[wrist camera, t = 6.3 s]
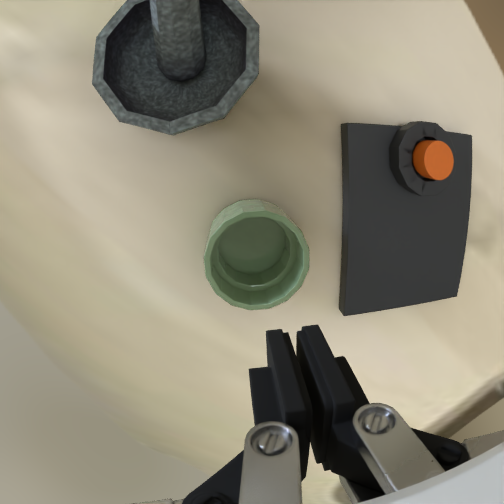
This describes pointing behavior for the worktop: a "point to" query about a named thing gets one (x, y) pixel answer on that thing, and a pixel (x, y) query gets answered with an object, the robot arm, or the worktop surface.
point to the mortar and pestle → (176, 62)
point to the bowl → (255, 255)
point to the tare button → (433, 159)
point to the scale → (401, 218)
